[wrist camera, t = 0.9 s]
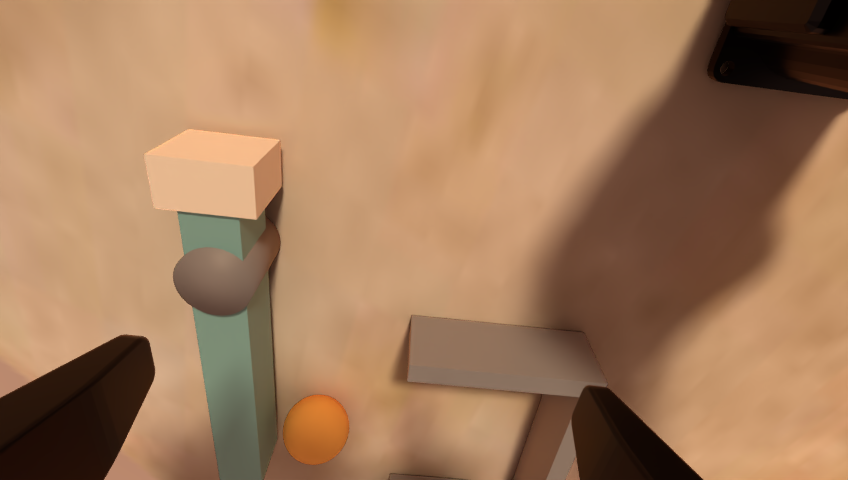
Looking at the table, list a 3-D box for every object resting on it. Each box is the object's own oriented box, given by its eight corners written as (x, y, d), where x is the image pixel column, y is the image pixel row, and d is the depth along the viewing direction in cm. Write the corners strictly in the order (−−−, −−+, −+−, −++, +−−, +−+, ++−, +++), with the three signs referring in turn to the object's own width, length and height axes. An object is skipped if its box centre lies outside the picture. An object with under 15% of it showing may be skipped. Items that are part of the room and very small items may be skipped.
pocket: (583, 332, 23) (607, 383, 20) (522, 493, 30) (533, 550, 27) (411, 315, 23) (409, 365, 20) (388, 483, 29) (384, 540, 26)
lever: (194, 125, 18) (142, 155, 15) (283, 136, 18) (252, 167, 15) (231, 424, 27) (204, 485, 23) (292, 429, 27) (273, 490, 24)
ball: (354, 384, 25) (344, 438, 22) (352, 425, 27) (342, 481, 24) (292, 378, 25) (272, 432, 22) (293, 420, 27) (275, 476, 24)
